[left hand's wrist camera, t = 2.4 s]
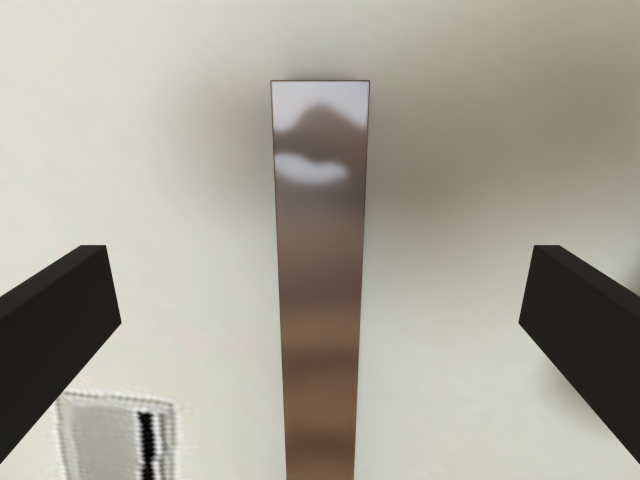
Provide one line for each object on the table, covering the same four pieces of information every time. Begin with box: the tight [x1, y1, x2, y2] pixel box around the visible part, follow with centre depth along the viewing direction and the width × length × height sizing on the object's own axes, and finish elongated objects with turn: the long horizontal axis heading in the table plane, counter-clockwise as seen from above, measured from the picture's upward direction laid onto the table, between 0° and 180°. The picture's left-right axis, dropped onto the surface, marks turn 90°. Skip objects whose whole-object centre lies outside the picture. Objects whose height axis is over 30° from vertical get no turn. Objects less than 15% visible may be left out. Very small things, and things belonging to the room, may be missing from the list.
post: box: [271, 80, 370, 480], centre depth 35 cm, size 54×6×8 cm, turn 0°
